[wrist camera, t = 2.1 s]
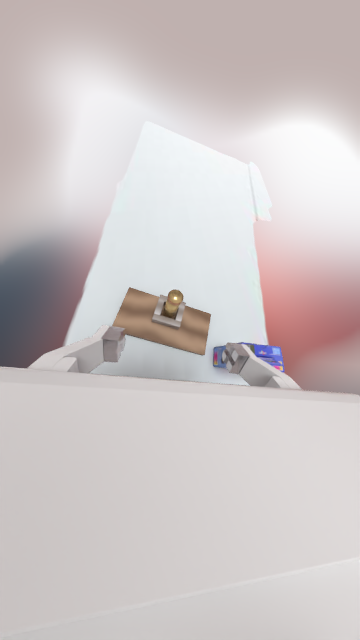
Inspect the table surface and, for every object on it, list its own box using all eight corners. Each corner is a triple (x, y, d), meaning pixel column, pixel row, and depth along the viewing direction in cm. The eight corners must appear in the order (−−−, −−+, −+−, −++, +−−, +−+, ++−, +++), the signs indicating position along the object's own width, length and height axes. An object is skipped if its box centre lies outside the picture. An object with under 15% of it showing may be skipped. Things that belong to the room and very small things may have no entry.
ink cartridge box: (212, 368, 35) (252, 370, 22) (212, 347, 37) (249, 338, 24) (244, 370, 37) (299, 373, 24) (243, 350, 39) (292, 343, 26)
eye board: (202, 355, 36) (208, 354, 32) (112, 330, 32) (108, 326, 29) (208, 315, 40) (214, 310, 36) (130, 290, 37) (128, 282, 33)
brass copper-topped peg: (172, 320, 35) (181, 305, 26) (161, 317, 35) (166, 300, 26) (175, 310, 36) (184, 292, 27) (164, 307, 36) (170, 287, 27)
